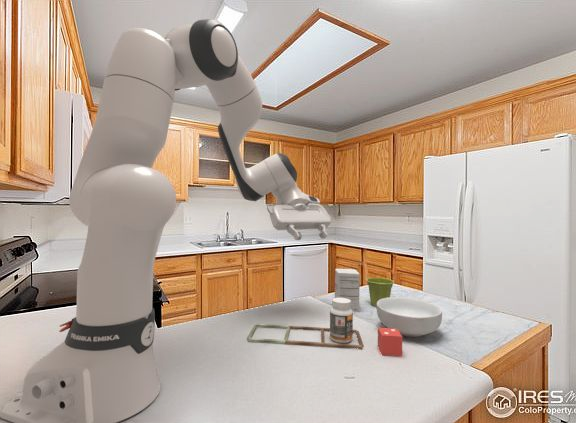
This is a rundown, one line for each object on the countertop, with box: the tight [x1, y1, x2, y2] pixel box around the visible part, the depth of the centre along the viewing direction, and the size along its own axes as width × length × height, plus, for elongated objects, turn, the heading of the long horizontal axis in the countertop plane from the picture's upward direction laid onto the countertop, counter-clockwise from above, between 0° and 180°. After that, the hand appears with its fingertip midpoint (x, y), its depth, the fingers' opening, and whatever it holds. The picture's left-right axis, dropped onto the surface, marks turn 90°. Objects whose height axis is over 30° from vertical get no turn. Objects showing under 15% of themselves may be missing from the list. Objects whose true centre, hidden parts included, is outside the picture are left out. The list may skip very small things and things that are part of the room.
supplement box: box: [334, 268, 361, 312], centre depth 98 cm, size 7×7×13 cm
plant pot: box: [365, 277, 395, 308], centre depth 102 cm, size 9×9×9 cm
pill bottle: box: [329, 297, 354, 344], centre depth 74 cm, size 6×6×10 cm
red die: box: [377, 327, 403, 357], centre depth 68 cm, size 4×4×5 cm
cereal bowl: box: [376, 296, 443, 338], centre depth 80 cm, size 17×17×7 cm
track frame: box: [246, 323, 365, 350], centre depth 75 cm, size 28×10×1 cm, turn 84°
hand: (312, 238), depth 84 cm, fingers open, 8 cm apart
